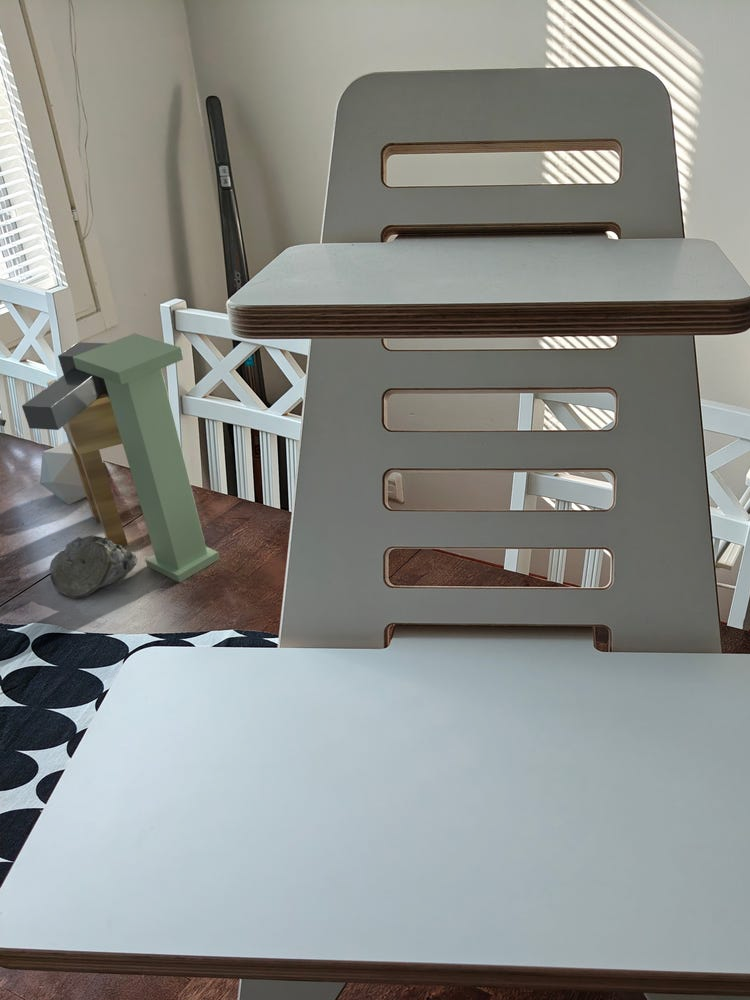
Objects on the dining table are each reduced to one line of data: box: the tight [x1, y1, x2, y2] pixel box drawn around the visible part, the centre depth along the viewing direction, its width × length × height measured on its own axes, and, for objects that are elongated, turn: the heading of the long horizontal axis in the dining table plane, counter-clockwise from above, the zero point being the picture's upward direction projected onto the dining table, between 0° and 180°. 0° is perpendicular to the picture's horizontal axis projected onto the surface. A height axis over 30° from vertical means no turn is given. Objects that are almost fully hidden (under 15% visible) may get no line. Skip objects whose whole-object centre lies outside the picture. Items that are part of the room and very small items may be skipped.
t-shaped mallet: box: [21, 341, 109, 431], centre depth 126 cm, size 16×6×5 cm, turn 168°
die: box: [39, 441, 104, 506], centre depth 149 cm, size 8×9×10 cm
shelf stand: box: [73, 333, 220, 584], centre depth 126 cm, size 9×9×30 cm
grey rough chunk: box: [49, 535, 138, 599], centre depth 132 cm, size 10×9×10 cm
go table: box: [46, 379, 129, 547], centre depth 138 cm, size 12×12×21 cm
